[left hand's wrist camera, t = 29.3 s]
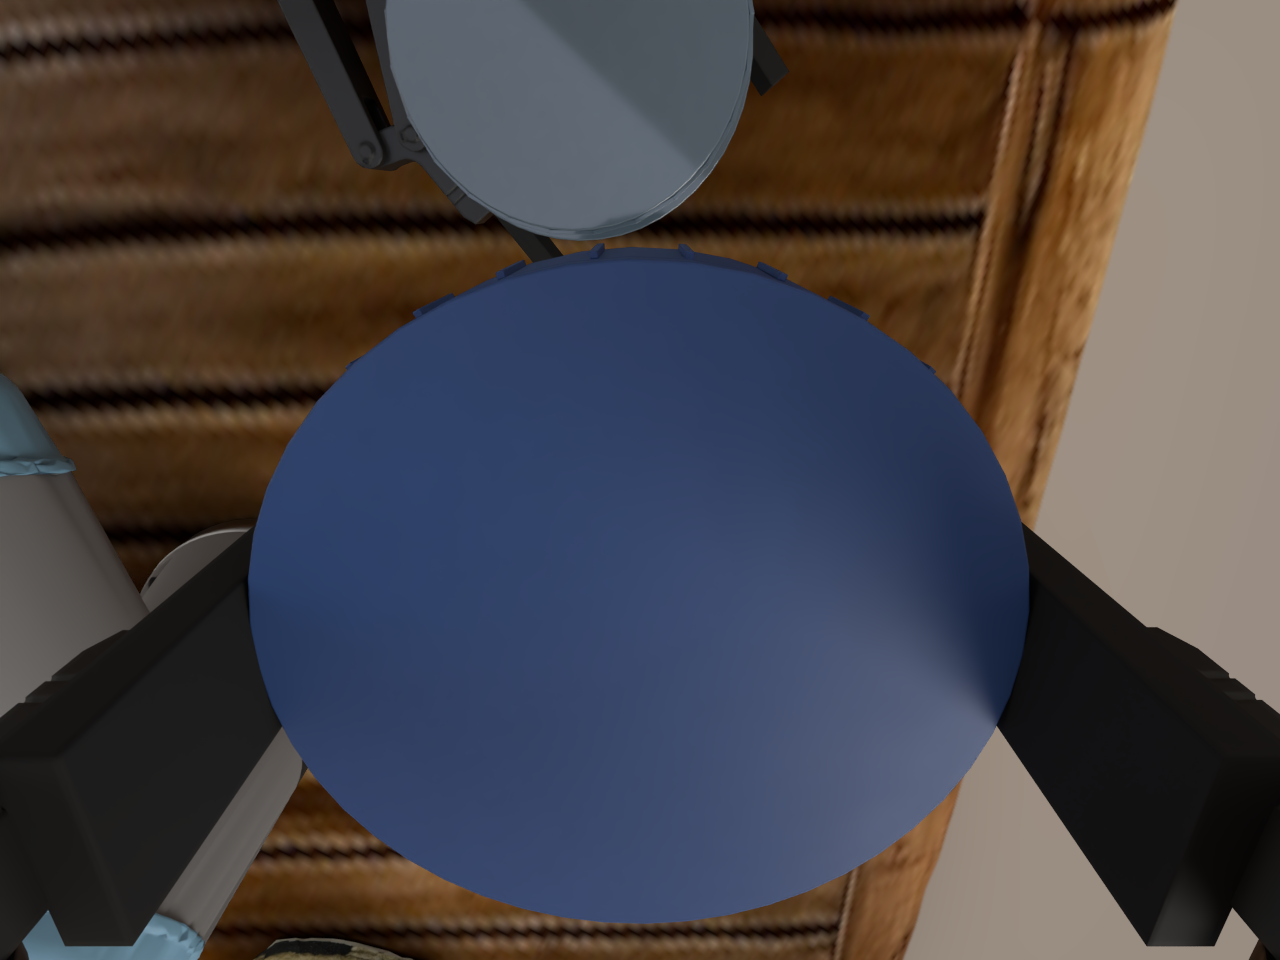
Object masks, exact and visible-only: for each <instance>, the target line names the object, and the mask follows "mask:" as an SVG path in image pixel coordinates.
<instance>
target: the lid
mask: <svg viewBox="0 0 1280 960" xmlns="http://www.w3.org/2000/svg"><path fill="white" fill-rule="evenodd" d="M604 249H605V247H604V243H601V244H597V245H596V246H595V247H594V248H592V249H591V250H590V251H583V252H578V253H573V254H569V255H565V256H560V257H556V258H552V259H547V260H543V261H539V262H534V263H531V264H529V265H526V264H525V261H524V260H522V261H519V262H517V263H515V264H512V265H510V266H508V267H506V268H504V269H502V270H500V271H498V272H496V276H497V277H495V278H492V279H490V280H487V281H485V282H483V283H481V284H479V285H477V286H475V287H473V288H471V289H470V290H468V291H466V292H464V293H462V294H460V295H458V296H456V297H454V295H453V294H452V293H451V294H449V295H446V296H444V297H442V298H440V299H438V300H436V301H434V302H432V303H430V304H428V305H426V306H424V307H422V308H420V309H418V310H416V311H414V312H413V314H414V316H415V317H416V319H414V320H412V321H411V322H409V323H407V324H405V325H404V326H402V327H400V328H398V329H397V330H396V331H394V332H393V333H392V334H391V335H389V336H388V337H387V338H385V339H384V340H383V341H381V342H380V343H379V344H378V345H376V346H375V347H374V348H372V349H371V350H370V351H369V352H367V353H366V354H365V355H363V356H361V357H360V358H358V359H356V360H354V361H352V362H351V363H349V364H348V365H347V366H346V369H347V371H346V372H345V373H344V374H343V375H342V376H341V377H340V378H339V379H338V380H337V381H336V382H335V383H334V384H333V385H332V386H331V387H330V389H329V390H328V391H327V392H326V393H325V394H324V395H323V396H322V397H321V398H320V399H319V400H318V401H317V402H316V404H315V405H314V407H313V408H312V410H311V411H310V413H309V414H308V415H307V417H306V418H305V420H304V421H303V423H302V424H301V426H300V427H299V428H298V430H297V431H296V433H295V434H294V436H293V437H292V439H291V440H290V442H289V443H288V445H287V447H286V449H285V451H284V453H283V455H282V457H281V459H280V461H279V464H278V466H277V468H276V470H275V472H274V474H273V476H272V478H271V480H270V483H269V485H268V487H267V489H266V493H265V496H264V499H263V503H262V506H261V510H260V513H259V517H258V520H257V524H256V527H255V531H254V534H253V542H252V551H251V559H250V567H249V575H248V595H249V622H250V628H251V632H252V637H253V641H254V645H255V649H256V654H257V658H258V662H259V666H260V670H261V674H262V677H263V681H264V685H265V688H266V691H267V694H268V697H269V700H270V702H271V705H272V708H273V709H274V711H275V713H276V715H277V717H278V719H279V721H280V723H281V725H282V727H283V729H284V731H285V733H286V734H287V736H288V738H289V740H290V742H291V744H292V745H293V747H294V748H295V750H296V751H297V753H298V754H299V755H300V757H301V758H302V760H303V761H304V763H305V764H306V765H307V767H308V768H309V770H310V771H311V773H312V774H313V775H314V777H315V778H316V779H317V780H318V781H319V783H320V784H321V785H322V786H323V787H324V788H325V789H326V790H327V791H328V793H329V794H330V795H331V796H332V797H333V798H334V799H335V800H336V801H337V803H338V804H339V805H340V806H341V807H342V808H343V809H344V810H345V811H346V812H347V813H349V814H350V815H351V816H352V817H353V818H354V819H355V820H357V821H358V822H359V823H360V824H361V825H362V826H363V827H365V828H366V829H367V830H368V831H369V832H370V833H371V834H373V835H374V836H375V837H377V838H378V839H379V840H381V841H382V842H384V843H385V844H387V845H388V846H389V847H391V848H392V849H394V850H395V851H397V852H398V853H399V854H401V855H402V856H404V857H405V858H407V859H408V860H410V861H412V862H414V863H415V864H417V865H419V866H421V867H423V868H424V869H426V870H428V871H430V872H432V873H433V874H435V875H437V876H439V877H441V878H443V879H444V880H447V881H449V882H451V883H454V884H456V885H458V886H461V887H463V888H465V889H468V890H470V891H472V892H475V893H477V894H479V895H482V896H485V897H488V898H491V899H494V900H497V901H500V902H504V903H507V904H510V905H513V906H516V907H519V908H523V909H527V910H532V911H536V912H541V913H546V914H550V915H555V916H559V917H565V918H573V919H582V920H590V921H598V922H612V923H643V924H646V923H663V922H681V921H691V920H698V919H704V918H711V917H718V916H724V915H730V914H734V913H738V912H742V911H746V910H750V909H754V908H758V907H762V906H766V905H770V904H773V903H775V902H778V901H781V900H784V899H787V898H790V897H793V896H795V895H798V894H801V893H804V892H807V891H809V890H811V889H813V888H816V887H818V886H820V885H822V884H824V883H826V882H829V881H831V880H833V879H835V878H837V877H839V876H842V875H844V874H846V873H847V872H849V871H851V870H852V869H854V868H856V867H857V866H859V865H861V864H863V863H864V862H866V861H868V860H869V859H871V858H873V857H874V856H876V855H878V854H879V853H881V852H882V851H884V850H885V849H886V848H888V847H889V846H890V845H892V844H893V843H894V842H896V841H897V840H898V839H900V838H901V837H902V836H904V835H905V834H906V833H908V832H909V831H910V830H912V829H913V828H914V827H915V826H916V825H917V824H919V823H920V822H921V821H922V820H923V819H924V818H925V817H926V816H927V815H928V814H929V813H930V812H931V811H932V810H933V809H935V808H936V807H937V806H938V805H939V804H940V803H941V802H942V801H943V800H944V799H945V798H946V797H947V795H948V794H949V793H950V792H951V791H952V789H953V788H954V787H955V786H956V785H957V783H958V782H959V781H960V780H961V779H962V777H963V776H964V775H965V774H966V773H967V772H968V770H969V769H970V768H971V766H972V765H973V763H974V762H975V760H976V759H977V757H978V755H979V754H980V752H981V751H982V749H983V748H984V746H985V745H986V743H987V741H988V740H989V738H990V737H991V735H992V734H993V732H994V730H995V728H996V725H997V723H998V721H999V719H1000V717H1001V715H1002V713H1003V710H1004V708H1005V706H1006V704H1007V702H1008V700H1009V698H1010V695H1011V692H1012V689H1013V686H1014V683H1015V679H1016V676H1017V673H1018V669H1019V666H1020V663H1021V659H1022V655H1023V651H1024V645H1025V638H1026V631H1027V624H1028V617H1029V564H1028V558H1027V553H1026V547H1025V541H1024V535H1023V529H1022V523H1021V519H1020V516H1019V513H1018V510H1017V507H1016V504H1015V501H1014V499H1013V496H1012V493H1011V490H1010V487H1009V484H1008V481H1007V478H1006V475H1005V473H1004V472H1003V470H1002V468H1001V466H1000V464H999V462H998V460H997V458H996V457H995V455H994V453H993V451H992V449H991V447H990V445H989V444H988V442H987V440H986V438H985V436H984V434H983V432H982V431H981V429H980V428H979V427H978V426H977V424H976V423H975V422H974V420H973V419H972V418H971V416H970V415H969V414H968V412H967V411H966V410H965V408H964V407H963V406H962V405H961V403H960V402H959V401H958V399H957V398H956V397H955V395H954V394H953V393H952V391H951V390H950V389H949V388H948V387H947V386H946V385H945V384H944V383H943V382H942V381H941V380H940V379H938V378H937V377H936V376H935V375H934V373H935V372H936V371H935V370H934V369H933V368H932V367H931V366H929V365H927V364H925V363H924V362H922V361H920V360H919V359H918V358H917V357H916V356H915V355H913V354H912V353H911V352H910V351H909V350H907V349H906V348H904V347H903V346H902V345H900V344H899V343H897V342H896V341H895V340H893V339H892V338H890V337H889V336H887V335H886V334H885V333H883V332H882V331H880V330H879V329H877V328H876V327H875V326H873V325H872V324H870V323H869V322H868V321H867V320H868V318H869V317H870V316H869V315H868V314H866V313H864V312H863V311H861V310H858V309H856V308H854V307H852V306H850V305H848V304H846V303H844V302H842V301H840V300H838V299H836V298H834V297H832V296H830V297H829V298H828V300H827V299H825V298H823V297H821V296H819V295H817V294H815V293H813V292H811V291H809V290H807V289H805V288H803V287H801V286H799V285H797V284H795V283H793V282H791V281H789V280H787V279H786V278H787V276H788V275H787V274H785V273H783V272H781V271H779V270H777V269H775V268H773V267H771V266H769V265H767V264H764V263H762V262H759V263H758V265H757V268H756V267H753V266H751V265H748V264H745V263H742V262H739V261H736V260H733V259H729V258H724V257H718V256H713V255H708V254H702V253H697V252H693V251H692V250H691V249H690V248H689V247H688V246H687V245H685V244H679V249H659V248H639V247H628V248H616V249H605V250H604Z"/></svg>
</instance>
